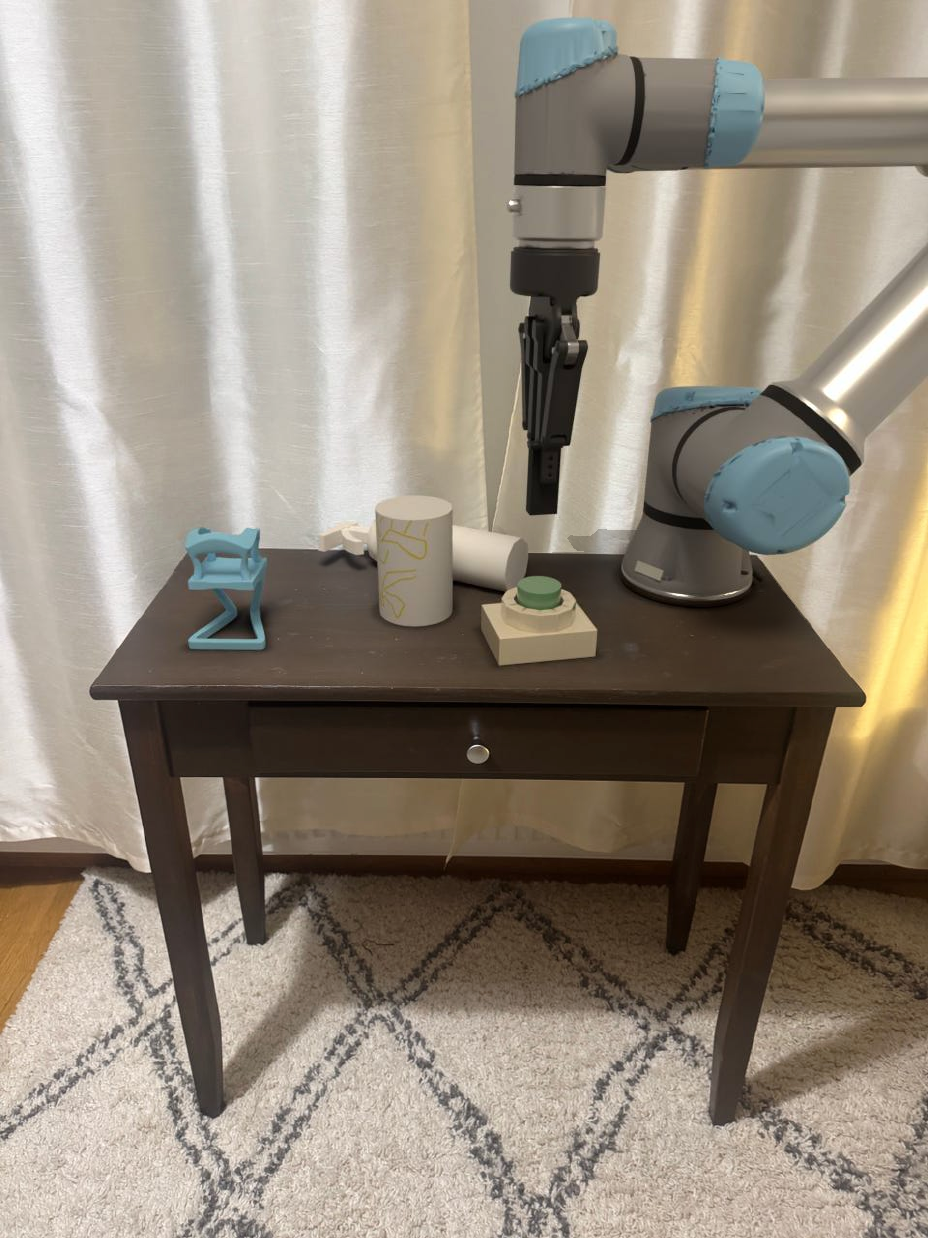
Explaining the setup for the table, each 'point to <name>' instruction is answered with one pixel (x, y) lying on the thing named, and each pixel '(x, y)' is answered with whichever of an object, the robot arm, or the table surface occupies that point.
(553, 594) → the green cylindrical puck
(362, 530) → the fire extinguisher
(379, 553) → the white cylinder
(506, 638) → the push button base
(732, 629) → the table surface
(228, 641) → the chair
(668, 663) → the table surface
